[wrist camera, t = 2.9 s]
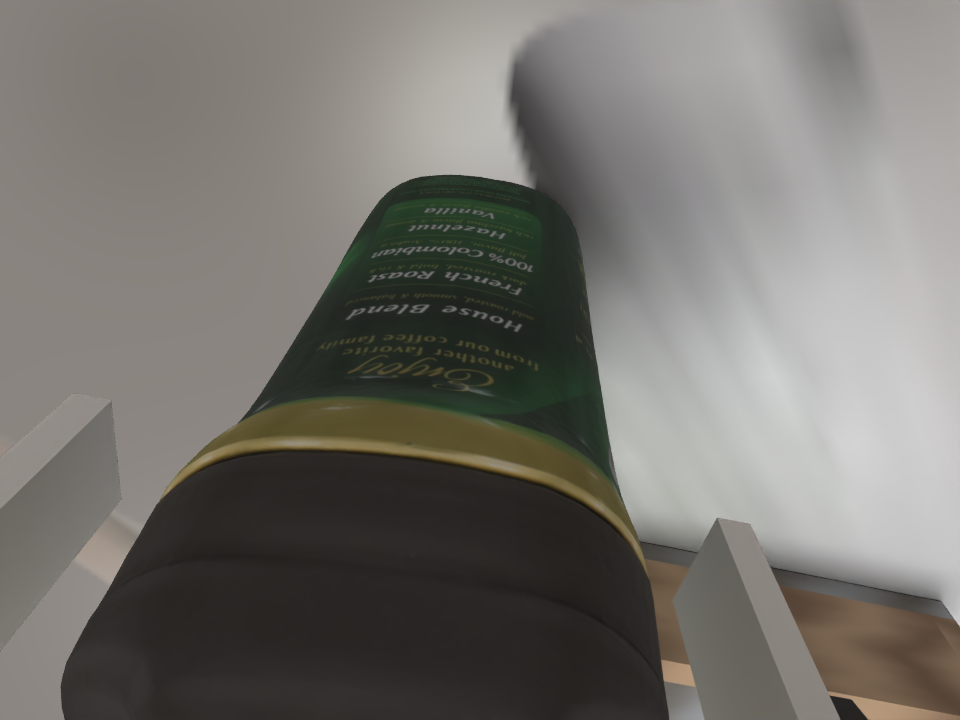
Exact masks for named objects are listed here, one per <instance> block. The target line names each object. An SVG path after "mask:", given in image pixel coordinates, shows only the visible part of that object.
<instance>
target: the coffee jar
mask: <svg viewBox="0 0 960 720" xmlns="http://www.w3.org/2000/svg"><path fill="white" fill-rule="evenodd" d="M61 699H62V700H61V701H62V710H63V714H64V718H65V720H669V711H668V706H667V699H666V693H665V686H664V679H663V671H662V663H661V655H660V647H659V639H658V631H657V623H656V615H655V607H654V599H653V594H652V589H651V584H650V580H649V577H648V572H647V567H646V562H645V558H644V555H643V552H642V549H641V546H640V542H639V539H638V536H637V533H636V531H635V529H634V526H633V524H632V522H631V519H630V517H629V515H628V513H627V510H626V507H625V505H624V502H623V499H622V496H621V493H620V489H619V485H618V481H617V477H616V472H615V468H614V463H613V458H612V452H611V447H610V442H609V436H608V430H607V424H606V418H605V411H604V405H603V399H602V392H601V386H600V380H599V374H598V366H597V360H596V355H595V349H594V343H593V336H592V330H591V322H590V313H589V306H588V298H587V291H586V282H585V273H584V267H583V261H582V255H581V250H580V245H579V240H578V236H577V233H576V230H575V228H574V226H573V224H572V222H571V220H570V218H569V217H568V215H567V214H566V213H565V211H564V210H563V209H562V208H561V207H560V206H559V205H558V204H557V203H556V202H554V201H553V200H552V199H550V198H549V197H548V196H546V195H545V194H543V193H541V192H539V191H537V190H534V189H532V188H529V187H525V186H522V185H519V184H515V183H511V182H506V181H500V180H493V179H488V178H483V177H475V176H463V175H436V176H426V177H419V178H415V179H411V180H409V181H407V182H404V183H402V184H400V185H398V186H396V187H395V188H393V189H392V190H390V191H389V192H388V193H387V194H386V195H385V196H384V197H383V198H382V199H381V200H380V201H379V202H378V204H377V205H376V206H375V208H374V209H373V211H372V212H371V214H370V215H369V216H368V218H367V220H366V221H365V223H364V224H363V226H362V227H361V229H360V231H359V232H358V234H357V235H356V237H355V239H354V240H353V242H352V244H351V246H350V248H349V250H348V251H347V253H346V255H345V256H344V258H343V260H342V262H341V264H340V266H339V267H338V269H337V271H336V273H335V275H334V277H333V278H332V280H331V282H330V283H329V285H328V286H327V288H326V290H325V291H324V293H323V295H322V297H321V298H320V300H319V301H318V303H317V305H316V306H315V308H314V310H313V311H312V313H311V315H310V316H309V318H308V319H307V321H306V322H305V324H304V326H303V327H302V329H301V330H300V332H299V334H298V335H297V337H296V339H295V340H294V342H293V344H292V345H291V347H290V348H289V350H288V352H287V353H286V355H285V356H284V358H283V360H282V361H281V363H280V364H279V366H278V368H277V369H276V371H275V372H274V374H273V376H272V377H271V379H270V380H269V382H268V383H267V385H266V386H265V388H264V390H263V391H262V393H261V394H260V396H259V397H258V398H257V400H256V401H255V403H254V404H253V405H252V407H251V408H250V410H249V411H248V412H247V413H246V415H245V416H244V417H243V418H242V419H241V420H240V421H239V423H238V424H237V425H235V426H233V427H231V428H230V429H228V430H227V431H225V432H224V433H222V434H221V435H220V436H218V437H217V438H215V439H214V440H213V441H211V442H210V443H209V444H208V445H207V446H205V447H204V448H203V449H202V450H201V451H200V452H199V453H198V454H197V455H196V456H195V457H194V458H193V459H192V460H191V461H190V462H189V463H188V464H187V465H186V466H185V467H184V468H183V469H182V470H181V471H180V472H179V473H178V475H177V476H176V477H175V478H174V479H173V480H172V482H171V483H170V484H169V485H168V486H167V488H166V489H165V491H164V493H163V495H162V497H161V499H160V502H159V503H158V504H157V505H156V507H155V508H154V510H153V512H152V513H151V515H150V517H149V519H148V520H147V522H146V524H145V526H144V528H143V529H142V531H141V533H140V535H139V536H138V538H137V540H136V541H135V543H134V545H133V546H132V548H131V550H130V551H129V553H128V555H127V556H126V558H125V560H124V562H123V564H122V566H121V567H120V569H119V571H118V573H117V575H116V577H115V578H114V580H113V582H112V584H111V586H110V588H109V590H108V591H107V593H106V595H105V596H104V598H103V600H102V601H101V603H100V605H99V606H98V608H97V609H96V611H95V612H94V613H93V615H92V616H91V617H90V619H89V621H88V623H87V625H86V627H85V628H84V630H83V632H82V634H81V636H80V638H79V639H78V641H77V643H76V645H75V647H74V649H73V651H72V653H71V655H70V657H69V659H68V661H67V663H66V666H65V670H64V673H63V677H62V682H61Z"/></svg>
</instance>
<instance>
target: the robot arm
mask: <svg viewBox="0 0 960 720" xmlns="http://www.w3.org/2000/svg"><path fill="white" fill-rule="evenodd" d="M121 499H122V498H121V490H120V479H119V470H118V460H117V451H116V441H115V432H114V422H113V413H112V403H111V400H106V399H101V398H96V397H91V396H85V395H80V394H75V393H73V394H72V395H71V396H70V397H69V398H67V399H66V400H65V401H64V402H63V403H62V404H61V405H60V406H58V407H57V408H56V409H55V410H54V411H53V412H51V413H50V414H49V415H48V416H47V417H46V418H45V419H44V420H42V421H41V422H40V423H39V424H38V425H37V426H36V427H34V428H33V429H32V430H31V431H30V432H29V433H28V434H26V435H25V436H24V437H23V438H22V439H21V440H20V441H18V442H17V443H16V444H15V445H14V446H13V447H12V448H10V449H9V450H8V451H7V452H6V453H5V454H4V455H2V456H1V457H0V651H1V650H2V648H3V647H4V646H5V645H6V643H7V642H8V641H9V639H10V638H11V637H12V636H13V635H14V633H15V632H16V630H18V628H19V627H20V626H21V625H22V623H23V622H24V621H25V620H26V618H27V617H28V616H29V614H30V613H31V612H32V611H33V610H34V608H35V607H36V606H37V604H38V603H39V602H40V601H41V599H42V598H43V597H44V596H45V594H46V593H47V592H48V591H49V589H50V588H51V587H52V586H53V584H54V583H55V582H56V581H57V579H58V578H59V577H60V576H61V574H62V573H63V572H64V571H65V569H66V568H67V567H68V566H69V564H70V563H71V562H72V561H73V559H74V558H75V557H76V556H77V554H78V553H79V552H80V551H81V549H82V548H83V547H84V546H85V544H86V543H87V542H88V540H89V539H90V538H91V537H92V535H93V534H94V533H95V532H96V530H97V529H98V528H99V527H100V525H101V524H102V523H103V522H104V520H105V519H106V518H107V517H108V515H109V514H110V513H111V512H112V510H113V509H114V508H115V506H116V505H117V504H118V503H119V501H120V500H121ZM673 604H674V608H675V611H676V615H677V619H678V623H679V626H680V630H681V634H682V637H683V641H684V645H685V648H686V652H687V656H688V660H689V663H690V667H691V671H692V674H693V678H694V682H695V685H696V689H697V693H698V696H699V700H700V704H701V708H702V711H703V715H704V719H705V720H868V719H867V717H866V716H865V715H864V714H863V713H862V711H861V710H860V709H859V708H858V707H857V705H856V704H855V703H854V702H853V700H852V699H847V698H841V697H836V696H830V695H829V694H828V691H827V689H826V687H825V685H824V683H823V681H822V678H821V676H820V674H819V672H818V670H817V668H816V665H815V663H814V661H813V659H812V657H811V655H810V652H809V650H808V648H807V646H806V644H805V642H804V639H803V637H802V635H801V633H800V631H799V629H798V626H797V624H796V622H795V620H794V618H793V616H792V613H791V611H790V609H789V607H788V605H787V603H786V600H785V598H784V596H783V594H782V592H781V590H780V587H779V585H778V583H777V581H776V579H775V577H774V574H773V572H772V570H771V568H770V566H769V564H768V561H767V559H766V557H765V555H764V553H763V551H762V548H761V546H760V544H759V542H758V540H757V538H756V535H755V533H754V531H753V529H752V527H751V524H747V523H742V522H737V521H732V520H727V519H721V518H717V519H716V521H715V523H714V525H713V526H712V528H711V530H710V532H709V534H708V536H707V537H706V539H705V541H704V543H703V545H702V547H701V549H700V550H699V552H698V554H697V556H696V558H695V560H694V561H693V563H692V565H691V567H690V569H689V571H688V573H687V574H686V576H685V578H684V580H683V582H682V584H681V585H680V587H679V589H678V591H677V593H676V595H675V597H674V598H673Z"/></svg>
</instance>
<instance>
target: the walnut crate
mask: <svg viewBox="0 0 960 720" xmlns="http://www.w3.org/2000/svg"><path fill="white" fill-rule="evenodd" d="M640 546H641V549H642V552H643V555H644V558H645V562H646V567H647V572H648V577H649V580H650V584H651V589H652V594H653V599H654V607H655V615H656V623H657V631H658V639H659V647H660V655H661V663H662V671H663V679H664V686H665V693H666V699H667V706H668V711H669V720H705V719H704V715H703V711H702V708H701V704H700V700H699V696H698V693H697V689H696V685H695V682H694V678H693V674H692V671H691V667H690V663H689V660H688V656H687V652H686V648H685V645H684V641H683V637H682V634H681V630H680V626H679V623H678V619H677V615H676V611H675V608H674V604H673V598H674V597H675V595H676V593H677V591H678V589H679V587H680V585H681V584H682V582H683V580H684V578H685V576H686V574H687V573H688V571H689V569H690V567H691V565H692V563H693V561H694V560H695V558H696V556H697V554H698V553H694V552H688V551H683V550H678V549H673V548H668V547H663V546H658V545H653V544H648V543H643V542H640ZM771 570H772V572H773V574H774V577H775V579H776V581H777V583H778V585H779V587H780V590H781V592H782V594H783V596H784V598H785V600H786V603H787V605H788V607H789V609H790V611H791V613H792V616H793V618H794V620H795V622H796V624H797V626H798V629H799V631H800V633H801V635H802V637H803V639H804V642H805V644H806V646H807V648H808V650H809V652H810V655H811V657H812V659H813V661H814V663H815V665H816V668H817V670H818V672H819V674H820V676H821V678H822V681H823V683H824V685H825V687H826V689H827V691H828V694H829V695H830V696H836V697H841V698H847V699H852V700H853V702H854V703H855V704H856V705H857V707H858V708H859V709H860V710H861V711H862V713H863V714H864V715H865V716H866V717H867V719H868V720H960V627H959V625H958V624H957V622H956V621H955V620H954V618H953V617H952V615H951V614H950V613H949V611H948V610H947V608H946V607H945V605H944V604H943V603H942V602H940V601H935V600H930V599H925V598H920V597H915V596H910V595H905V594H900V593H895V592H890V591H885V590H880V589H875V588H870V587H865V586H860V585H855V584H850V583H845V582H840V581H835V580H830V579H825V578H819V577H814V576H809V575H804V574H799V573H794V572H789V571H784V570H779V569H774V568H771Z"/></svg>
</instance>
